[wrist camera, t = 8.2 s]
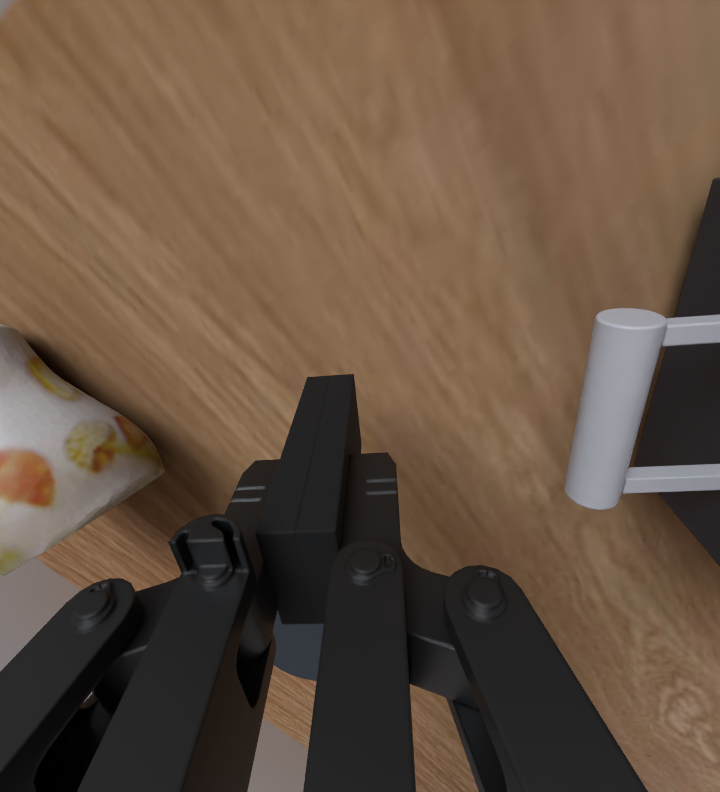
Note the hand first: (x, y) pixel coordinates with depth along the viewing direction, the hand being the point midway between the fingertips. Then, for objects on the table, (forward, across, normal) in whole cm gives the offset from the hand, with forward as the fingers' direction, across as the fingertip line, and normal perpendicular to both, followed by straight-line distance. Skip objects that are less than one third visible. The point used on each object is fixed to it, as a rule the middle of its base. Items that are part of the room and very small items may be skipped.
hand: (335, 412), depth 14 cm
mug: (+5, -13, -2) cm, 14 cm away
